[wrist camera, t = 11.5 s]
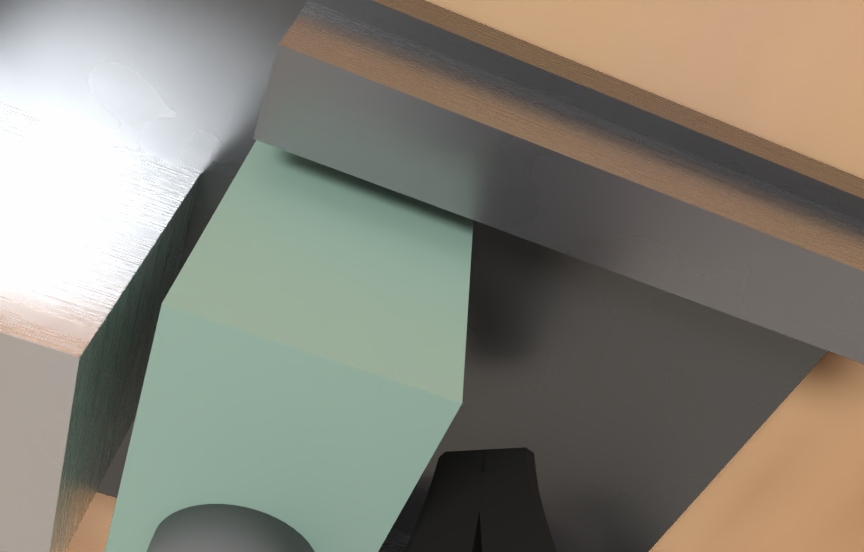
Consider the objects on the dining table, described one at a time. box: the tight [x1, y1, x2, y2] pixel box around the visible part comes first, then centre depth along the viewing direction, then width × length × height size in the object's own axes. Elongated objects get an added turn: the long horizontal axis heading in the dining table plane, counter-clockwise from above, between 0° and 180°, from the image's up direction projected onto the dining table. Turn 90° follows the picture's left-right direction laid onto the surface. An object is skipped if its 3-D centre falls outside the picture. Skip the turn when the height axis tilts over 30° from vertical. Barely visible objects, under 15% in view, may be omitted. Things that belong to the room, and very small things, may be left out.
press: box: [0, 0, 864, 552], centre depth 11 cm, size 18×11×6 cm, turn 69°
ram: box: [105, 140, 473, 552], centre depth 11 cm, size 3×7×5 cm, turn 159°
